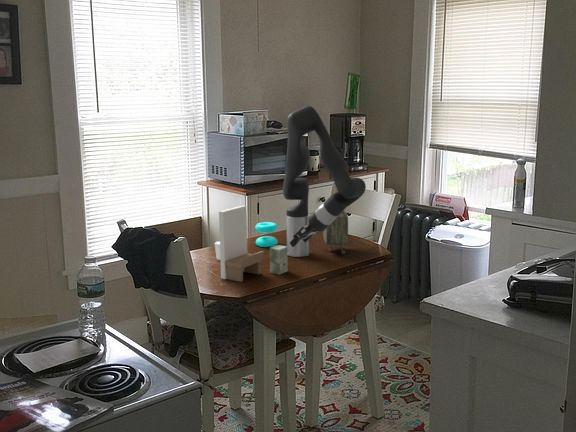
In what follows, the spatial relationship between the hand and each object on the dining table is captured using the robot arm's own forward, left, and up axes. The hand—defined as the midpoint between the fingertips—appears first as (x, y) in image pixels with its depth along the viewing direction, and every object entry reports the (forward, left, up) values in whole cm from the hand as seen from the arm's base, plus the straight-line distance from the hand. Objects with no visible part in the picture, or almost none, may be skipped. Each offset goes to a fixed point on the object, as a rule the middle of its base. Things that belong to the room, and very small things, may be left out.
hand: (297, 242), depth 241 cm
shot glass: (+28, -28, -13) cm, 42 cm away
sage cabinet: (+7, -6, -13) cm, 16 cm away
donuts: (+8, -48, -13) cm, 51 cm away
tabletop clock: (-21, -33, -13) cm, 41 cm away
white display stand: (+21, -2, -13) cm, 25 cm away
